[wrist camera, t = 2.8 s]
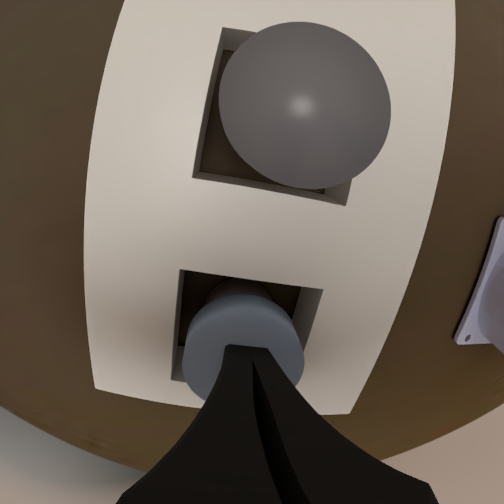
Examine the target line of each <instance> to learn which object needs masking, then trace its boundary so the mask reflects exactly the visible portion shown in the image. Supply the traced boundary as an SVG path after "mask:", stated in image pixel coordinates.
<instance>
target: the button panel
mask: <svg viewBox="0 0 504 504" xmlns="http://www.w3.org/2000/svg"><path fill="white" fill-rule="evenodd" d="M287 22H311V23H317V24H321V25H325V26H328V27H331V28H333V29H336V30H338V31H340V32H342V33H344V34H346V35H347V36H349V37H350V38H352V39H353V40H355V41H356V42H357V43H358V44H359V45H361V46H362V47H363V48H364V49H365V50H366V51H367V52H368V53H369V55H370V56H371V57H372V58H373V60H374V61H375V62H376V64H377V65H378V67H379V69H380V71H381V72H382V74H383V77H384V79H385V82H386V84H387V88H388V91H389V95H390V102H391V120H390V127H389V131H388V135H387V138H386V140H385V143H384V145H383V147H382V149H381V151H380V153H379V154H378V156H377V157H376V158H375V160H374V161H373V162H372V163H371V164H370V165H369V166H368V167H367V168H366V169H365V170H364V171H363V172H361V173H360V174H359V175H358V176H356V177H354V178H352V179H351V180H349V181H347V182H344V183H342V184H339V185H336V186H333V187H329V188H325V192H324V194H319V193H315V192H310V191H305V190H300V189H295V188H290V187H285V186H280V185H275V184H270V183H264V182H259V181H253V180H248V179H242V178H236V177H230V176H224V175H218V174H211V173H205V172H199V169H200V163H201V157H202V151H203V146H204V140H205V135H206V129H207V124H208V119H209V114H210V109H211V104H212V99H213V94H214V89H215V84H216V80H217V75H218V70H219V66H220V62H221V57H222V53H223V49H224V50H231V51H236V50H237V49H238V47H239V46H240V45H241V44H242V43H243V42H245V41H246V40H247V39H248V38H249V37H251V36H252V35H254V34H255V33H257V32H259V31H261V30H263V29H265V28H267V27H270V26H273V25H277V24H280V23H287ZM454 61H455V0H125V1H124V4H123V7H122V10H121V13H120V16H119V19H118V23H117V26H116V29H115V32H114V36H113V39H112V43H111V46H110V50H109V54H108V58H107V62H106V66H105V70H104V74H103V79H102V83H101V88H100V93H99V98H98V103H97V108H96V114H95V120H94V126H93V133H92V140H91V147H90V155H89V164H88V174H87V185H86V199H85V219H84V285H85V305H86V318H87V330H88V340H89V349H90V357H91V364H92V371H93V378H94V384H95V388H96V389H100V390H104V391H108V392H112V393H117V394H121V395H126V396H130V397H135V398H140V399H145V400H151V401H156V402H162V403H168V404H174V405H181V406H188V407H195V408H202V406H203V405H204V403H205V401H204V400H203V399H201V398H200V397H198V396H197V395H196V394H195V393H194V392H193V391H192V390H191V389H190V387H189V386H188V384H187V383H186V381H185V378H184V376H183V371H182V360H183V355H184V349H185V347H184V346H178V338H179V326H180V315H181V305H182V295H183V285H184V276H185V270H190V271H196V272H203V273H210V274H216V275H223V276H230V277H237V278H244V279H251V280H258V281H265V282H272V283H280V284H287V285H294V286H301V289H300V293H299V296H298V300H297V304H296V307H295V311H294V314H293V318H292V323H293V325H294V328H295V331H296V333H297V336H298V339H299V342H300V345H301V347H302V350H303V354H304V361H305V364H304V371H303V374H302V377H301V379H300V381H299V382H298V384H297V385H296V389H297V390H298V391H299V392H300V394H301V395H302V396H303V397H304V398H305V400H306V401H307V402H308V403H309V404H310V405H311V406H312V407H313V408H314V410H315V411H316V412H317V413H318V414H319V415H330V414H349V413H350V411H351V410H352V408H353V406H354V404H355V402H356V400H357V398H358V397H359V395H360V393H361V391H362V389H363V387H364V385H365V383H366V381H367V379H368V377H369V375H370V373H371V371H372V369H373V367H374V365H375V362H376V360H377V358H378V356H379V354H380V352H381V349H382V347H383V345H384V343H385V340H386V338H387V336H388V333H389V331H390V329H391V326H392V324H393V322H394V319H395V317H396V314H397V312H398V309H399V307H400V304H401V301H402V299H403V296H404V293H405V291H406V288H407V285H408V282H409V280H410V277H411V274H412V271H413V268H414V265H415V262H416V259H417V256H418V253H419V249H420V246H421V243H422V240H423V236H424V233H425V229H426V226H427V222H428V218H429V215H430V211H431V207H432V203H433V199H434V195H435V191H436V186H437V182H438V177H439V173H440V168H441V163H442V158H443V153H444V147H445V141H446V135H447V129H448V122H449V115H450V107H451V98H452V88H453V76H454Z"/></svg>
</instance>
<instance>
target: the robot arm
mask: <svg viewBox="0 0 504 504" xmlns="http://www.w3.org/2000/svg"><path fill="white" fill-rule="evenodd" d="M454 341H455V342H456V343H457V344H458V345H464V344H487V343H492V344H493V345H494V346H496V347H497V348H498V349H499V350H500V351H501V352H502V353H503V354H504V217H502V216H501V217H500V218H499V219H498V220H497V223H496V226H495V230H494V234H493V237H492V240H491V244H490V247H489V250H488V253H487V256H486V259H485V262H484V265H483V268H482V271H481V274H480V277H479V279H478V282H477V285H476V287H475V290H474V292H473V295H472V297H471V300H470V302H469V305H468V307H467V309H466V312H465V314H464V316H463V319H462V321H461V323H460V325H459V327H458V329H457V332H456V334H455V336H454ZM116 504H439V503H438V501H437V499H436V497H435V495H434V493H433V491H432V489H431V487H430V486H429V484H428V483H426V482H423V481H421V480H418V479H416V478H414V477H412V476H409V475H407V474H404V473H402V472H400V471H398V470H396V469H393V468H392V467H390V466H388V465H386V464H385V463H383V462H381V461H379V460H377V459H376V458H374V457H372V456H371V455H369V454H368V453H366V452H365V451H363V450H362V449H360V448H359V447H357V446H356V445H355V444H353V443H352V442H350V441H349V440H348V439H346V438H345V437H344V436H343V435H341V434H340V433H339V432H338V431H337V430H336V429H334V428H333V427H332V426H331V425H330V424H329V423H328V422H327V421H325V420H324V419H323V418H322V417H321V416H320V415H319V414H318V413H317V412H316V411H315V410H314V408H313V407H312V406H311V405H310V404H309V403H308V402H307V401H306V400H305V398H304V397H303V396H302V395H301V394H300V392H299V391H298V390H297V389H296V387H295V386H294V385H293V383H292V382H291V381H290V380H289V378H288V377H287V375H286V374H285V373H284V371H283V370H282V368H281V367H280V366H279V364H278V363H277V361H276V360H275V358H274V357H273V355H272V354H271V352H270V351H269V350H268V348H262V347H252V346H243V345H234V344H228V345H226V346H225V349H224V355H223V360H222V366H221V370H220V372H219V374H218V377H217V379H216V382H215V384H214V386H213V388H212V390H211V392H210V394H209V396H208V397H207V399H206V401H205V403H204V405H203V406H202V408H201V410H200V411H199V413H198V414H197V416H196V417H195V419H194V420H193V422H192V423H191V425H190V426H189V427H188V429H187V430H186V431H185V433H184V434H183V435H182V436H181V438H180V439H179V440H178V441H177V443H176V444H175V445H174V446H173V447H172V449H171V450H170V451H169V452H168V453H167V454H166V455H165V456H164V457H163V458H162V459H161V460H160V461H159V462H158V463H157V464H156V465H155V466H154V467H153V468H152V469H151V470H150V471H149V472H148V473H147V474H146V475H145V476H143V477H142V478H141V479H140V480H139V481H137V482H136V483H135V484H134V485H133V486H131V487H130V488H129V489H128V490H126V491H125V492H124V493H123V494H122V495H121V497H120V498H119V500H118V501H117V503H116Z"/></svg>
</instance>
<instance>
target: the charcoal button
mask: <svg viewBox="0 0 504 504" xmlns="http://www.w3.org/2000/svg"><path fill="white" fill-rule="evenodd" d="M219 109H220V116H221V120H222V124H223V128H224V131H225V133H226V136H227V138H228V140H229V142H230V143H231V145H232V147H233V148H234V150H235V151H236V152H237V153H238V155H239V156H240V157H241V158H242V159H243V160H244V161H245V162H246V163H247V164H249V165H250V166H251V167H252V168H254V169H255V170H256V171H258V172H259V173H260V174H262V175H264V176H265V177H267V178H269V179H271V180H273V181H275V182H278V183H280V184H283V185H287V186H290V187H294V188H301V189H322V188H329V187H333V186H336V185H339V184H342V183H344V182H347V181H349V180H351V179H352V178H354V177H356V176H358V175H359V174H360V173H361V172H363V171H364V170H365V169H366V168H367V167H368V166H369V165H370V164H371V163H372V162H373V161H374V160H375V158H376V157H377V156H378V154H379V153H380V151H381V149H382V147H383V145H384V143H385V140H386V138H387V135H388V131H389V127H390V120H391V102H390V95H389V91H388V88H387V84H386V82H385V79H384V77H383V74H382V72H381V71H380V69H379V67H378V65H377V64H376V62H375V61H374V60H373V58H372V57H371V56H370V55H369V53H368V52H367V51H366V50H365V49H364V48H363V47H362V46H361V45H359V44H358V43H357V42H356V41H355V40H353V39H352V38H350V37H349V36H347V35H346V34H344V33H342V32H340V31H338V30H336V29H333V28H331V27H328V26H325V25H321V24H317V23H311V22H287V23H280V24H277V25H273V26H270V27H267V28H265V29H263V30H261V31H259V32H257V33H255V34H254V35H252V36H251V37H249V38H248V39H247V40H246V41H245V42H243V43H242V44H241V45H240V46H239V47H238V49H237V50H236V51H235V52H234V53H233V55H232V56H231V58H230V59H229V61H228V63H227V65H226V67H225V69H224V72H223V75H222V79H221V82H220V89H219Z"/></svg>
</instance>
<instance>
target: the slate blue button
mask: <svg viewBox="0 0 504 504" xmlns="http://www.w3.org/2000/svg"><path fill="white" fill-rule="evenodd" d="M228 344H234V345H243V346H252V347H262V348H268V350H269V351H270V352H271V354H272V355H273V357H274V358H275V360H276V361H277V363H278V364H279V366H280V367H281V368H282V370H283V371H284V373H285V374H286V375H287V377H288V378H289V380H290V381H291V382H292V383H293V385H294V386H295V387H296V385H297V384H298V382H299V381H300V379H301V377H302V374H303V371H304V364H305V361H304V354H303V350H302V347H301V345H300V342H299V339H298V336H297V333H296V331H295V328H294V325H293V323H292V320H291V319H290V317H289V315H288V314H287V313H286V312H285V311H284V310H283V309H282V308H281V307H280V306H279V305H277V304H276V303H274V302H272V298H271V296H270V294H269V292H268V291H267V290H266V289H265V288H264V287H263V286H262V285H261V284H259V283H258V282H256V281H253V280H250V279H244V278H233V279H228V280H225V281H223V282H221V283H219V284H218V285H216V286H215V287H214V288H213V289H212V290H211V291H210V292H209V294H208V296H207V298H206V300H205V305H204V307H203V308H202V309H201V310H200V311H199V312H198V313H197V314H196V315H195V316H194V318H193V319H192V321H191V323H190V325H189V328H188V332H187V338H186V343H185V349H184V355H183V360H182V371H183V376H184V378H185V381H186V383H187V384H188V386H189V387H190V389H191V390H192V391H193V392H194V393H195V394H196V395H197V396H198V397H200V398H201V399H203V400H204V401H206V399H207V397H208V396H209V394H210V392H211V390H212V388H213V386H214V384H215V382H216V379H217V377H218V374H219V372H220V370H221V366H222V360H223V355H224V349H225V346H226V345H228Z"/></svg>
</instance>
